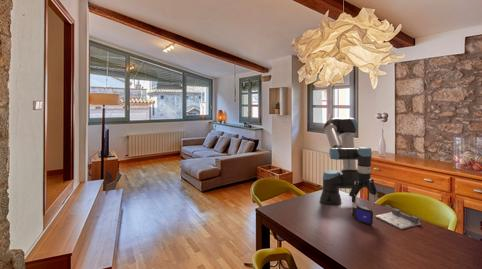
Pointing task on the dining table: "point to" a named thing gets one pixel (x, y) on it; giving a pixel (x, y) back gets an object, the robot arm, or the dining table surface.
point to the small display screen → (363, 214)
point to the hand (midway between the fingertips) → (362, 205)
